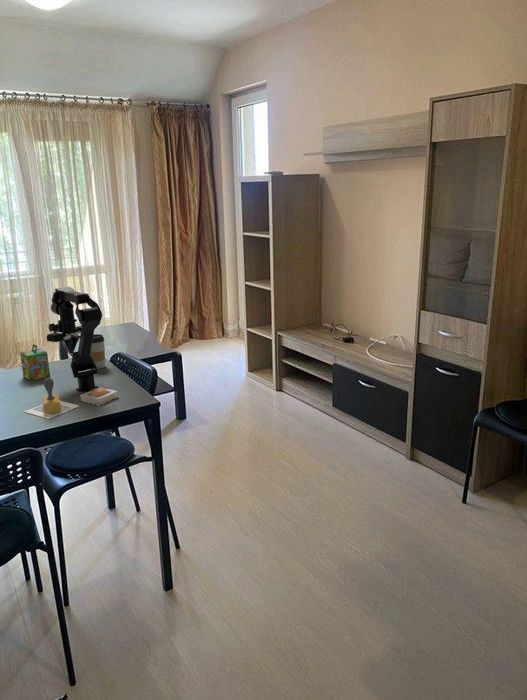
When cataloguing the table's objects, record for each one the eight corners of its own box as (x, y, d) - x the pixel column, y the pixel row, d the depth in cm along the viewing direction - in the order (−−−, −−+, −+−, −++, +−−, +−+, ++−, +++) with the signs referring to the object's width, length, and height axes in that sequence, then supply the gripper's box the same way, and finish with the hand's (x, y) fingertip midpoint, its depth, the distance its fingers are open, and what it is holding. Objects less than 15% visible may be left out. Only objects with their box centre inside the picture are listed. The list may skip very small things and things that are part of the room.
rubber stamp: (43, 405, 206) (39, 375, 203) (59, 402, 208) (55, 373, 205) (44, 414, 197) (39, 383, 194) (60, 411, 199) (56, 380, 196)
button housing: (118, 397, 213) (117, 391, 212) (98, 405, 205) (98, 399, 204) (100, 393, 218) (99, 387, 217) (81, 401, 210) (80, 395, 209)
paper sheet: (79, 406, 205) (79, 405, 204) (48, 419, 193) (48, 418, 193) (55, 400, 212) (55, 399, 212) (24, 412, 200) (24, 411, 200)
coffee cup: (85, 367, 253) (82, 336, 249) (102, 363, 259) (98, 333, 255) (94, 370, 247) (90, 339, 243) (110, 366, 253) (107, 335, 249)
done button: (110, 394, 212) (109, 389, 211) (98, 399, 207) (98, 394, 206) (99, 392, 215) (99, 386, 214) (88, 397, 210) (87, 391, 209)
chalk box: (22, 377, 242) (18, 345, 238) (43, 372, 248) (38, 341, 244) (30, 381, 235) (25, 349, 231) (51, 376, 241) (46, 344, 237)
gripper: (72, 311, 237) (76, 345, 241) (35, 320, 221) (40, 356, 226) (89, 313, 231) (93, 348, 235) (53, 322, 216) (58, 359, 220)
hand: (71, 353), depth 229 cm, fingers closed
